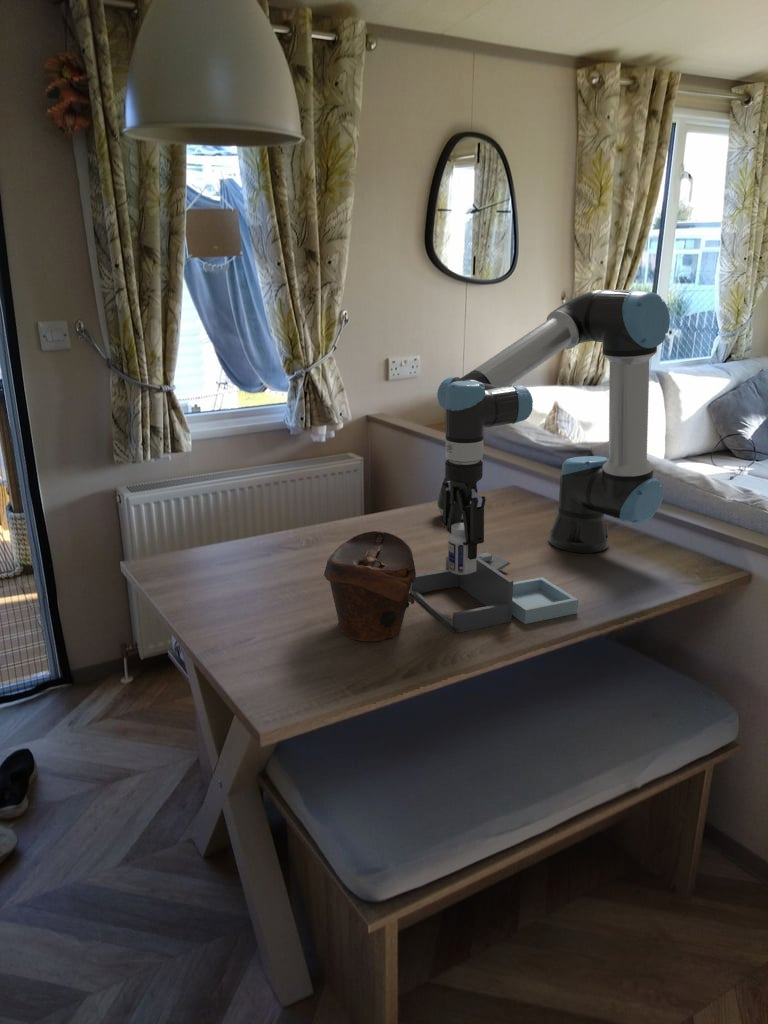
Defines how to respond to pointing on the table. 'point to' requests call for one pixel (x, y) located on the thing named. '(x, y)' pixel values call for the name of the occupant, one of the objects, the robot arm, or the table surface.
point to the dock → (480, 584)
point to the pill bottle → (456, 549)
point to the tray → (541, 601)
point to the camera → (489, 561)
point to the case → (371, 585)
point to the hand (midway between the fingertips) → (462, 566)
